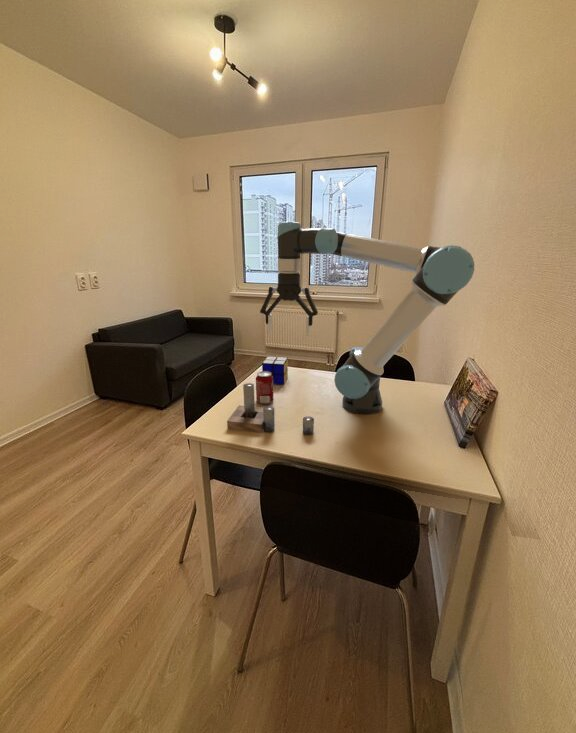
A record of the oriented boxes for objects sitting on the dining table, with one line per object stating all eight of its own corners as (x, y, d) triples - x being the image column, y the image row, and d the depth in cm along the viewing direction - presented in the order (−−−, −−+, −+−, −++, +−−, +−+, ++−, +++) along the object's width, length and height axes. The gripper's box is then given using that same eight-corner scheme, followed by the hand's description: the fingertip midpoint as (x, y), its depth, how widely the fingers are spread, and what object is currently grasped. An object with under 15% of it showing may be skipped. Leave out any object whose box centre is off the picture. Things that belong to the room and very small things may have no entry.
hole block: (270, 415, 118) (270, 408, 117) (261, 432, 107) (261, 424, 106) (239, 412, 120) (238, 405, 119) (227, 428, 109) (227, 421, 108)
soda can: (271, 406, 125) (270, 377, 121) (254, 404, 126) (253, 376, 123) (275, 398, 131) (274, 371, 127) (259, 397, 133) (258, 370, 129)
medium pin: (275, 427, 110) (275, 406, 107) (273, 433, 106) (272, 411, 104) (265, 426, 110) (264, 405, 108) (262, 432, 107) (262, 410, 104)
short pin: (314, 430, 108) (314, 417, 107) (312, 435, 105) (313, 422, 103) (303, 429, 109) (303, 416, 107) (301, 434, 106) (302, 421, 104)
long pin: (256, 420, 115) (255, 383, 110) (253, 425, 111) (252, 387, 107) (246, 419, 115) (245, 382, 111) (243, 424, 112) (241, 386, 107)
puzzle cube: (262, 383, 147) (261, 363, 143) (267, 376, 156) (267, 356, 153) (284, 385, 145) (284, 364, 142) (287, 377, 154) (287, 357, 151)
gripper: (326, 272, 110) (324, 332, 117) (256, 271, 114) (258, 329, 121) (325, 273, 103) (322, 338, 110) (250, 272, 107) (252, 334, 115)
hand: (288, 333), depth 116 cm, fingers open, 13 cm apart
